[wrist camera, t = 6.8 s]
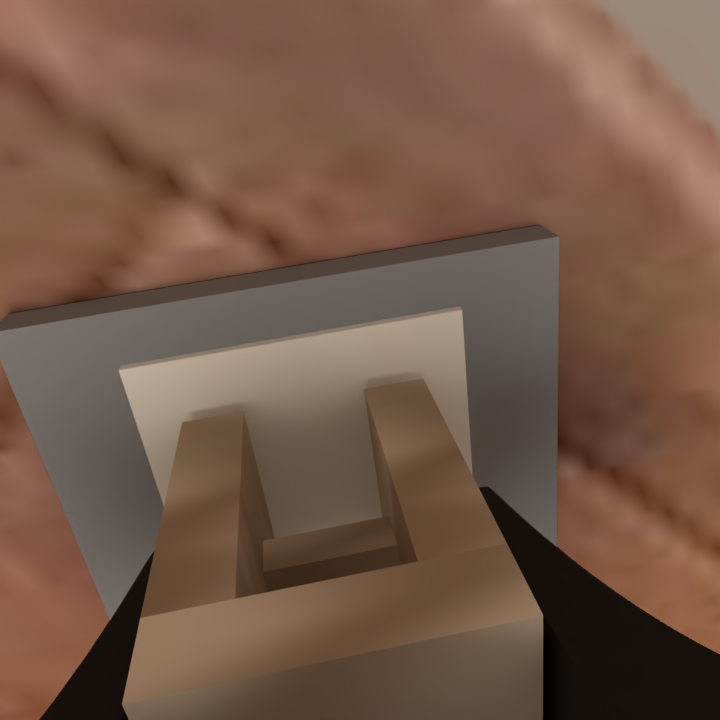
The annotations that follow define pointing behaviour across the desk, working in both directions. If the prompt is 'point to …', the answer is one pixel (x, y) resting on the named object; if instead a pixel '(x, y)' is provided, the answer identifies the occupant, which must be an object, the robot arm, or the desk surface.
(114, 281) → the desk surface
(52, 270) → the desk surface
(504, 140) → the desk surface
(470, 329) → the board
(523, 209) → the desk surface
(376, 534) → the tan u-shaped block
